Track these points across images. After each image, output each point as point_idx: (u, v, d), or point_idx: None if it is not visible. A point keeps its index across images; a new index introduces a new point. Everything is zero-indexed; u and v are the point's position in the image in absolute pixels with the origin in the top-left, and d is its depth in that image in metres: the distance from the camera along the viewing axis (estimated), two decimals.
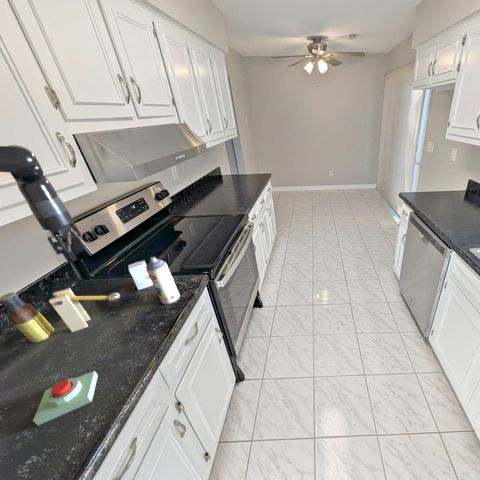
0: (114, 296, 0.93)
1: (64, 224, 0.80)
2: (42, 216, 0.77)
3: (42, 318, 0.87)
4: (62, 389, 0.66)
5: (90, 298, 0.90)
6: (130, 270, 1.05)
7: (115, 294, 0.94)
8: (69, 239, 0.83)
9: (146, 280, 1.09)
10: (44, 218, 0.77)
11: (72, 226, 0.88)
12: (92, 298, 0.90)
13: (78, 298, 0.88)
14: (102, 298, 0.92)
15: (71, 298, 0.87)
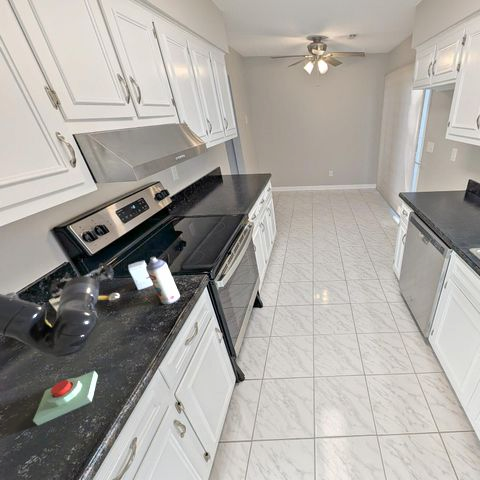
0: (114, 296, 0.93)
1: None
2: None
3: None
4: (62, 389, 0.66)
5: None
6: (130, 270, 1.05)
7: (115, 294, 0.94)
8: None
9: (146, 280, 1.09)
10: None
11: None
12: None
13: None
14: (102, 298, 0.92)
15: None
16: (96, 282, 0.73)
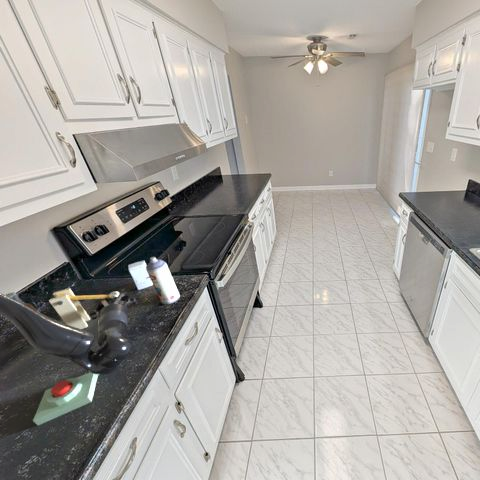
0: (114, 295, 0.93)
1: None
2: None
3: None
4: (62, 389, 0.66)
5: (90, 297, 0.90)
6: (130, 270, 1.05)
7: (115, 293, 0.93)
8: None
9: (146, 280, 1.09)
10: None
11: None
12: (92, 297, 0.90)
13: (78, 298, 0.88)
14: (102, 297, 0.92)
15: (71, 298, 0.87)
16: (125, 308, 0.88)
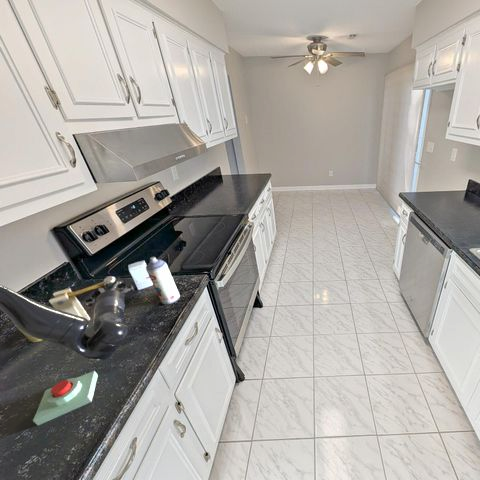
0: (107, 280, 0.90)
1: None
2: None
3: None
4: (62, 389, 0.66)
5: (87, 289, 0.89)
6: (130, 270, 1.05)
7: (107, 278, 0.90)
8: None
9: (146, 280, 1.09)
10: None
11: None
12: (89, 289, 0.89)
13: (76, 293, 0.87)
14: (98, 285, 0.90)
15: (70, 295, 0.87)
16: (122, 295, 0.86)
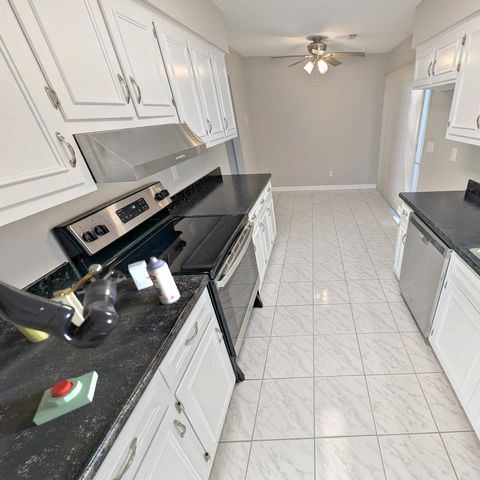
0: (91, 269, 0.86)
1: None
2: None
3: None
4: (62, 389, 0.66)
5: (79, 283, 0.87)
6: (130, 270, 1.05)
7: (90, 267, 0.87)
8: None
9: (146, 280, 1.09)
10: None
11: None
12: (80, 282, 0.87)
13: (71, 290, 0.86)
14: (87, 277, 0.87)
15: (67, 293, 0.86)
16: (114, 284, 0.83)
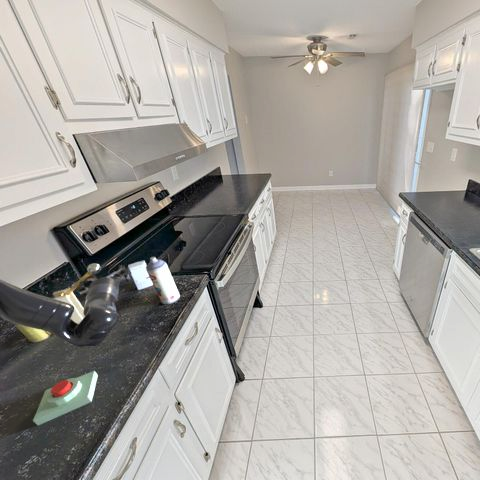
0: (89, 268, 0.86)
1: None
2: None
3: None
4: (62, 389, 0.66)
5: (78, 283, 0.87)
6: (130, 270, 1.05)
7: (89, 266, 0.86)
8: None
9: (146, 280, 1.09)
10: None
11: None
12: (79, 282, 0.87)
13: (71, 290, 0.86)
14: (86, 276, 0.87)
15: (66, 293, 0.86)
16: (116, 283, 0.83)
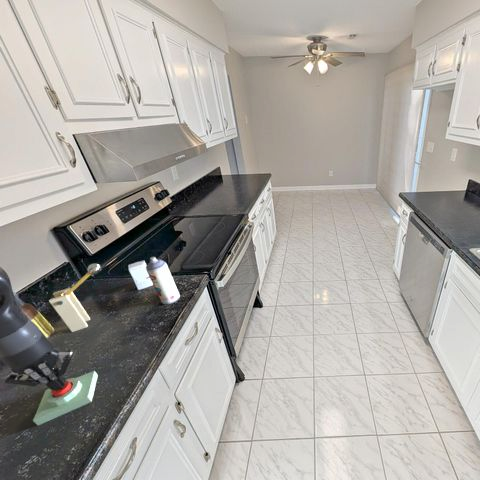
0: (89, 268, 0.86)
1: (9, 366, 0.57)
2: None
3: (42, 318, 0.87)
4: (62, 390, 0.66)
5: (78, 283, 0.87)
6: (130, 270, 1.05)
7: (89, 266, 0.86)
8: (34, 375, 0.62)
9: (146, 280, 1.09)
10: None
11: (62, 360, 0.64)
12: (79, 282, 0.87)
13: (71, 290, 0.86)
14: (86, 276, 0.87)
15: (66, 293, 0.86)
16: (49, 342, 0.62)
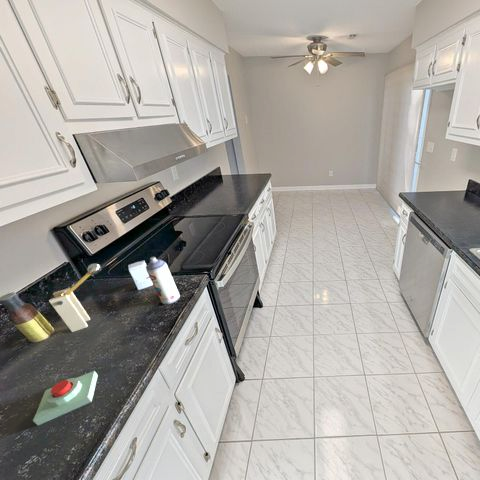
0: (89, 268, 0.86)
1: None
2: None
3: (42, 318, 0.87)
4: (62, 389, 0.66)
5: (78, 283, 0.87)
6: (130, 270, 1.05)
7: (89, 266, 0.86)
8: None
9: (146, 280, 1.09)
10: None
11: None
12: (79, 282, 0.87)
13: (71, 290, 0.86)
14: (86, 276, 0.87)
15: (66, 293, 0.86)
16: None
